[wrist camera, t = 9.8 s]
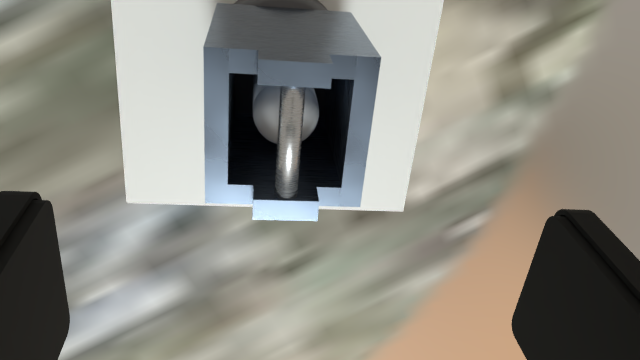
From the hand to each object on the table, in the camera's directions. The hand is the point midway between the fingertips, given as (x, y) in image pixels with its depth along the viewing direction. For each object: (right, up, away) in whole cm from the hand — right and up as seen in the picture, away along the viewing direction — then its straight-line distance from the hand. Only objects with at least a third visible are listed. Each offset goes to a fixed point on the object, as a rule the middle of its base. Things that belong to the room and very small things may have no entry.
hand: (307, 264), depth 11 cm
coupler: (-1, +6, +11) cm, 13 cm away
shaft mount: (-2, +8, +15) cm, 17 cm away
